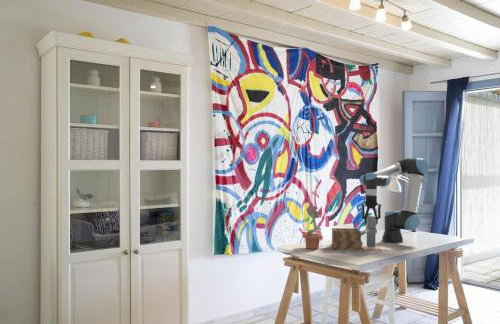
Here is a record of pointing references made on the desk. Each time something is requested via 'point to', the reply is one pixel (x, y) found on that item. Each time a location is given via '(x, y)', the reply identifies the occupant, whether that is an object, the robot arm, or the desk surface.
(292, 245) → the desk surface
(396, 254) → the desk surface
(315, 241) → the decorative flower
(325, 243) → the desk surface
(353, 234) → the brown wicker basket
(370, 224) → the grey tall block
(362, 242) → the door handle
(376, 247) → the tile
